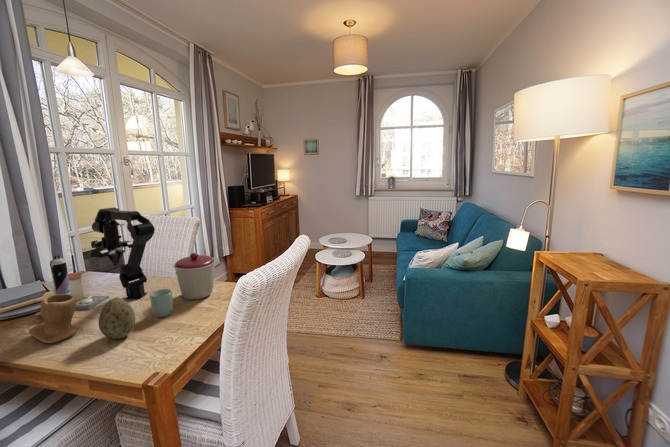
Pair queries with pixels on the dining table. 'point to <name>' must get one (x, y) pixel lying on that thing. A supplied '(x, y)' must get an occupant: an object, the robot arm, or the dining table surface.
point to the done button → (86, 301)
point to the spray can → (60, 275)
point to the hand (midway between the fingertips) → (116, 265)
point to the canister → (195, 276)
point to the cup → (161, 302)
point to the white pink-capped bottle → (76, 285)
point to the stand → (38, 317)
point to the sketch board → (95, 302)
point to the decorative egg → (116, 318)
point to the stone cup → (55, 318)
